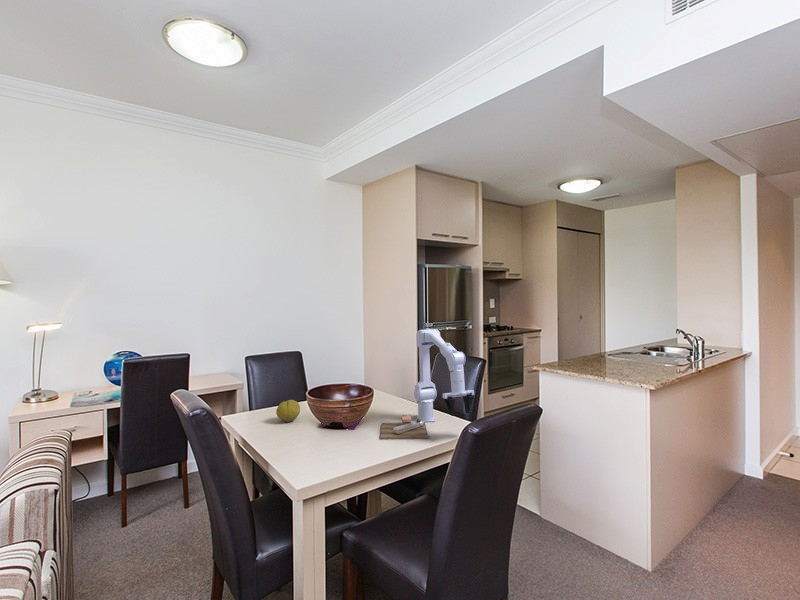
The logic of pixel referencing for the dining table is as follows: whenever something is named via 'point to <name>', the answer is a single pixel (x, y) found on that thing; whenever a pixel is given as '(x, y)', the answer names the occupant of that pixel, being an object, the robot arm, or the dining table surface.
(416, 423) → the link
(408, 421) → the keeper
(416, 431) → the base plate
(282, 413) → the fruit
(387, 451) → the dining table surface
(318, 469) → the dining table surface
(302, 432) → the dining table surface
